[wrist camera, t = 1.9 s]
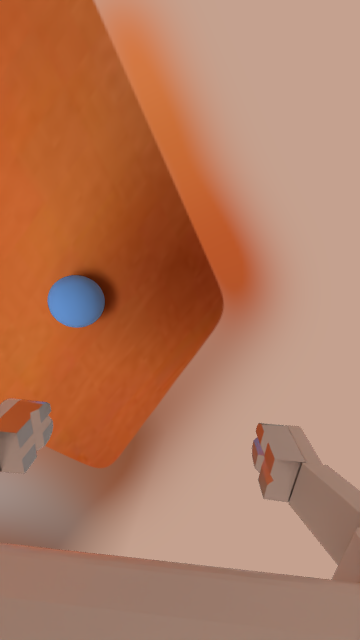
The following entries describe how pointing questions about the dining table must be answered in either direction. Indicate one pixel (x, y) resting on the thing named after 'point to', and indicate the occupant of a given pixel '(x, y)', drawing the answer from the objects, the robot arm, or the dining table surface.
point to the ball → (76, 301)
